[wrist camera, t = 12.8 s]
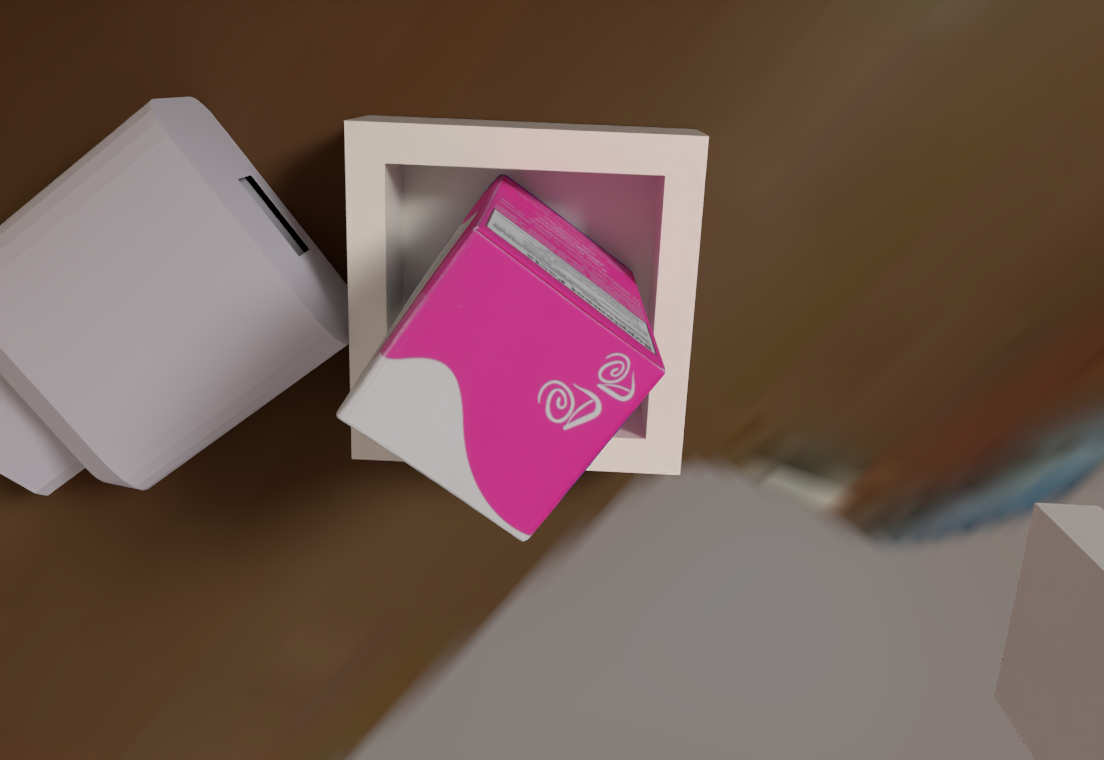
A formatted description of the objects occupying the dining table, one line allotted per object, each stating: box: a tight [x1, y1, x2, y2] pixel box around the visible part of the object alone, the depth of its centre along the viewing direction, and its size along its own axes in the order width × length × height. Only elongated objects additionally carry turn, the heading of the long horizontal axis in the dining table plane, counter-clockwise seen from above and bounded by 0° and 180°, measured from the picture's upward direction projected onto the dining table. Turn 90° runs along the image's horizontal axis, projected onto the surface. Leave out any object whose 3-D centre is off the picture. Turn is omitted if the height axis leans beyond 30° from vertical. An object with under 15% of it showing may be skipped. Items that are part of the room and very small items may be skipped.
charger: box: [0, 97, 349, 496], centre depth 33 cm, size 5×9×15 cm
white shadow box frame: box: [344, 115, 709, 475], centre depth 32 cm, size 11×11×4 cm
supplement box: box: [336, 174, 665, 542], centre depth 28 cm, size 6×6×12 cm
